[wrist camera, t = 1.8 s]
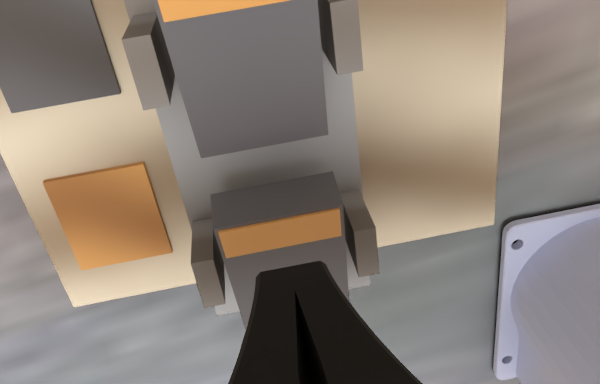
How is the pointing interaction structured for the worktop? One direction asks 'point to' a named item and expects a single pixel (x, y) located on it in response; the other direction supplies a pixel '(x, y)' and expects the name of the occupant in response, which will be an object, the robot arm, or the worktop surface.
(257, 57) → the block
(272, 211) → the block
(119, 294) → the switch panel
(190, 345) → the worktop surface
